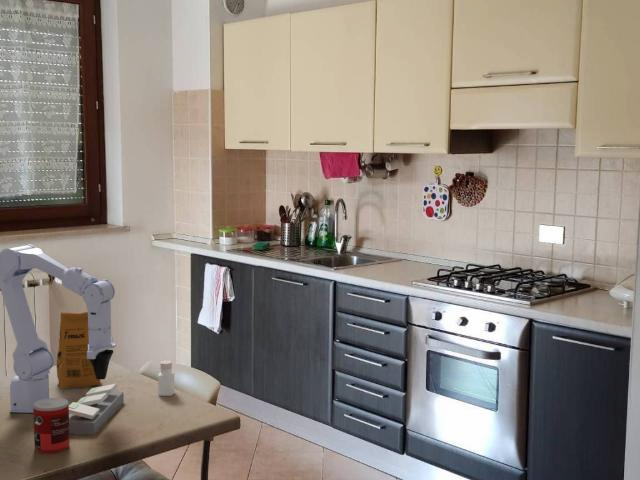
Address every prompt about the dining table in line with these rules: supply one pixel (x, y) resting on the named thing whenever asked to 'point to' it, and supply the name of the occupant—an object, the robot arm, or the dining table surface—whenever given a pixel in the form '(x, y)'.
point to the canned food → (51, 425)
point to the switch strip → (97, 422)
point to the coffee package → (74, 353)
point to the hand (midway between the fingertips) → (101, 378)
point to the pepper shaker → (166, 379)
